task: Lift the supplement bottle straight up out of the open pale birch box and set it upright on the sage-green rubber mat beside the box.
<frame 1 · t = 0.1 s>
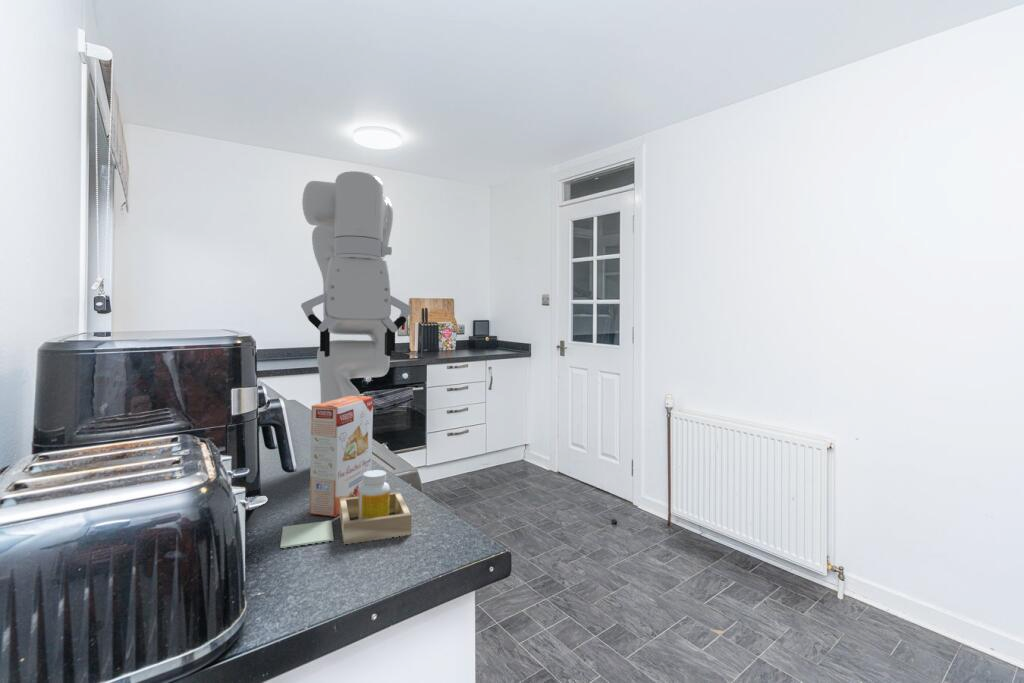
hand: (358, 355, 79), 31 cm above the counter, tool pointing down, fingers open, 9 cm apart
cracker box: (343, 504, 97), on the counter
green mat: (307, 534, 82), on the counter
birch box: (374, 525, 87), on the counter
supplement bottle: (374, 526, 87), resting in birch box
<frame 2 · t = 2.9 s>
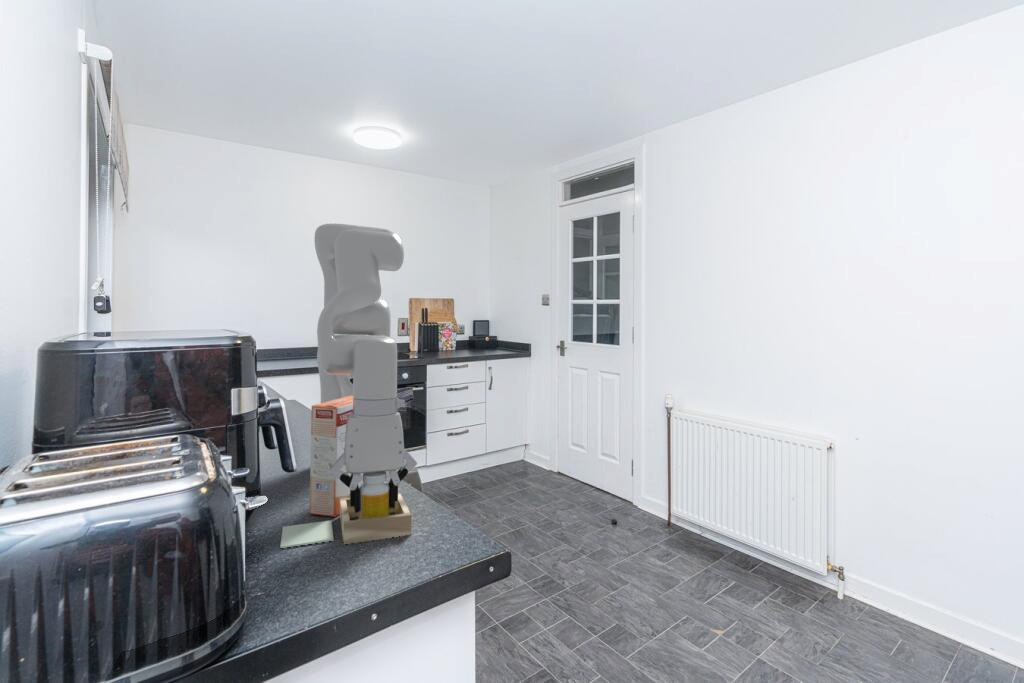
hand: (374, 506, 86), 3 cm above the counter, tool pointing down, fingers closed on supplement bottle, 5 cm apart
supplement bottle: (374, 526, 87), resting in birch box, touching gripper
everything else where it was.
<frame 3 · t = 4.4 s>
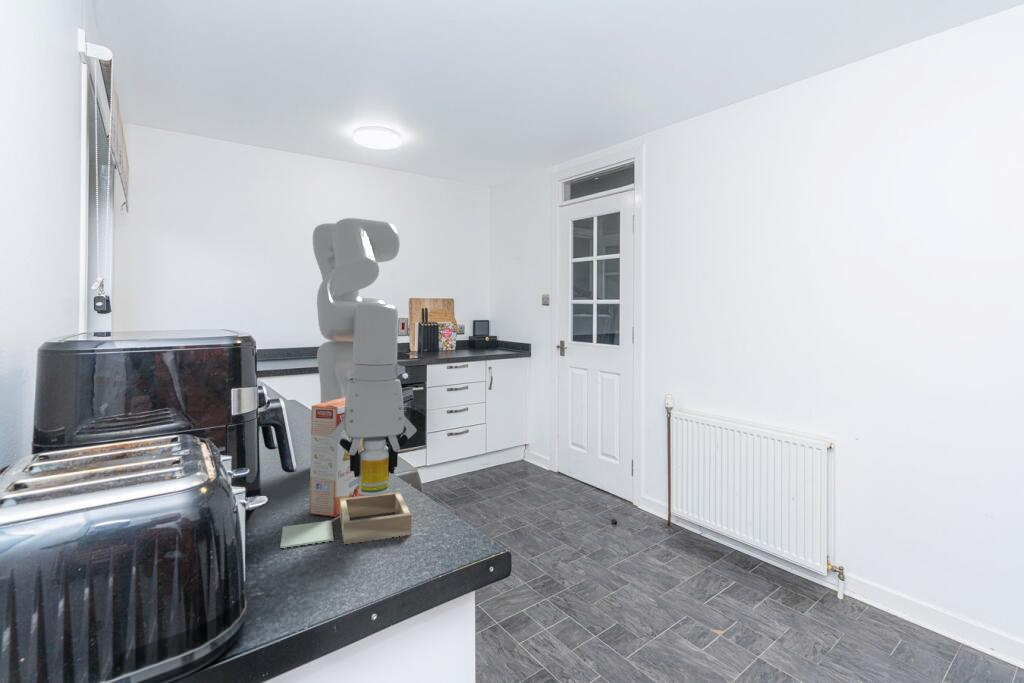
hand: (373, 472, 87), 10 cm above the counter, tool pointing down, fingers closed on supplement bottle, 5 cm apart
supplement bottle: (373, 492, 87), point 6 cm above the counter, touching gripper
everything else where it was.
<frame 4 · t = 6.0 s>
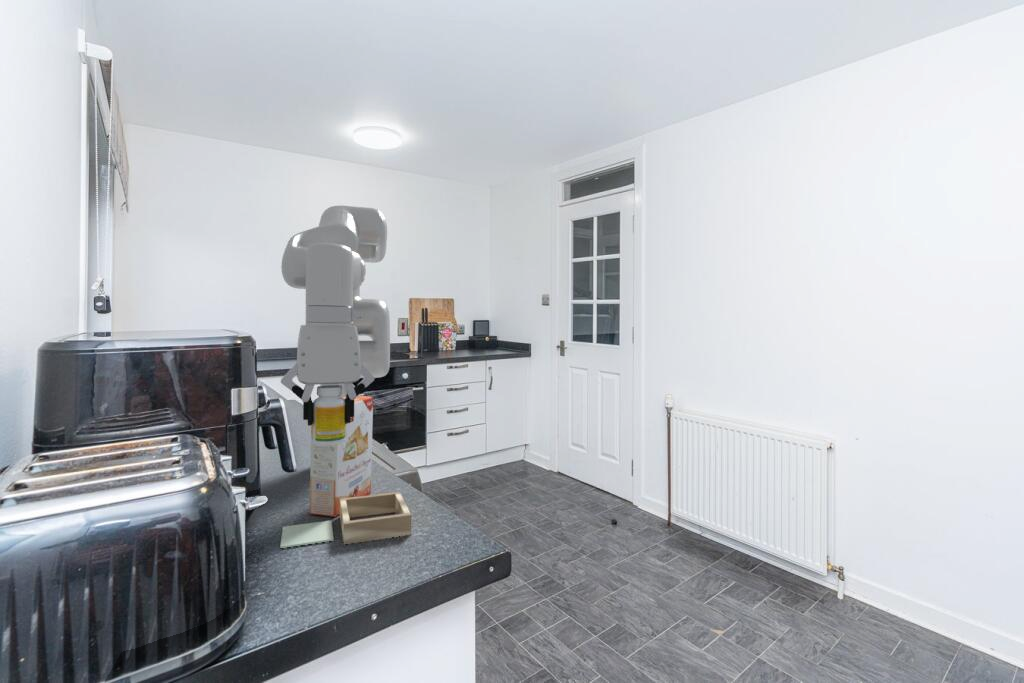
hand: (328, 421, 83), 19 cm above the counter, tool pointing down, fingers closed on supplement bottle, 5 cm apart
supplement bottle: (329, 443, 83), point 16 cm above the counter, touching gripper
everything else where it was.
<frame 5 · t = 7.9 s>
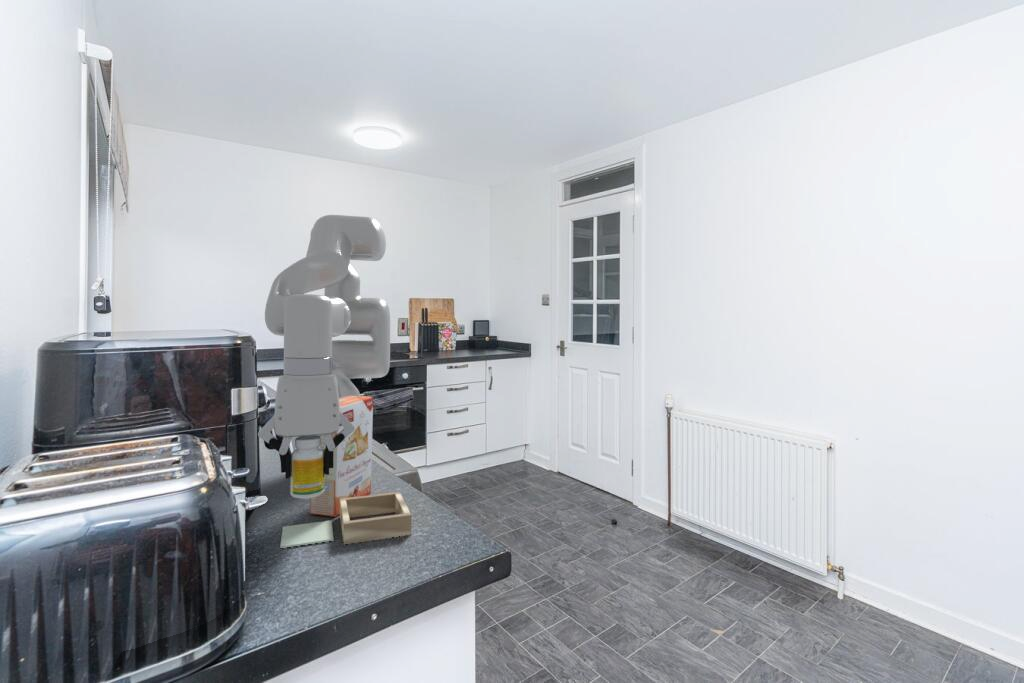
hand: (307, 473, 82), 11 cm above the counter, tool pointing down, fingers closed on supplement bottle, 5 cm apart
supplement bottle: (307, 494, 82), point 7 cm above the counter, touching gripper
everything else where it was.
when the fingers open (5 cm above the counter, at t = 9.4 s): supplement bottle drops 1 cm, resting on green mat.
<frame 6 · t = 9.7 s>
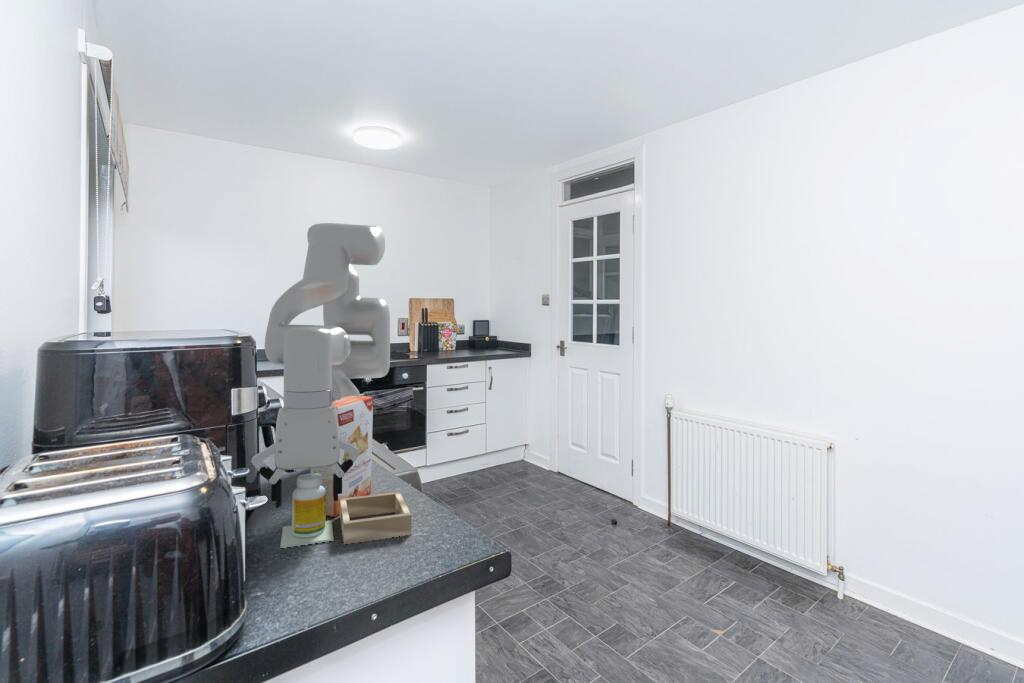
hand: (307, 501, 82), 6 cm above the counter, tool pointing down, fingers open, 8 cm apart
supplement bottle: (308, 533, 83), resting on green mat
everything else where it was.
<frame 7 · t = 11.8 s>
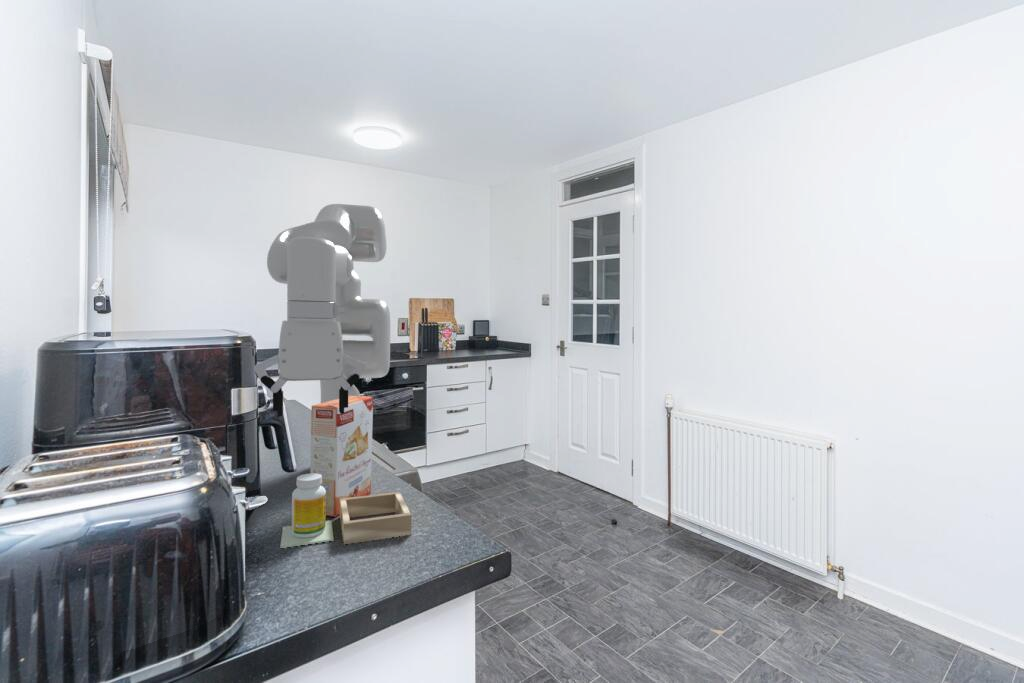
hand: (311, 413, 82), 21 cm above the counter, tool pointing down, fingers open, 9 cm apart
nothing on the counter moved.
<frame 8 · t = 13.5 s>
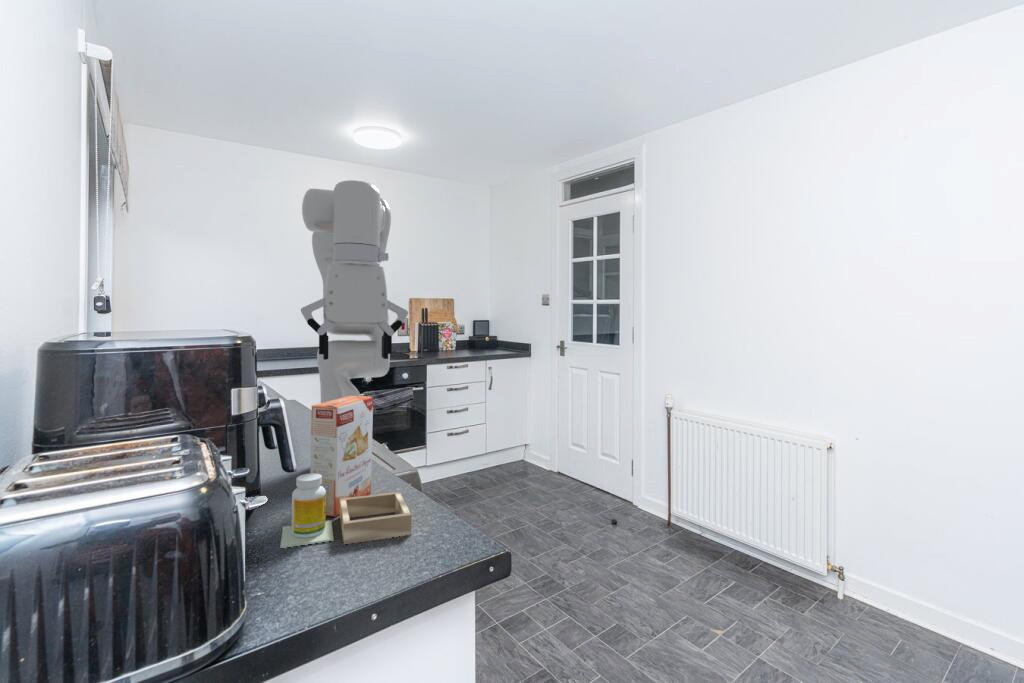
hand: (355, 358, 82), 30 cm above the counter, tool pointing down, fingers open, 9 cm apart
nothing on the counter moved.
at the end: supplement bottle 0.3 cm off-centre on the green mat, point 0.2 cm above the green mat's base; supplement bottle tilted 0°; the gripper is holding nothing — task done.
